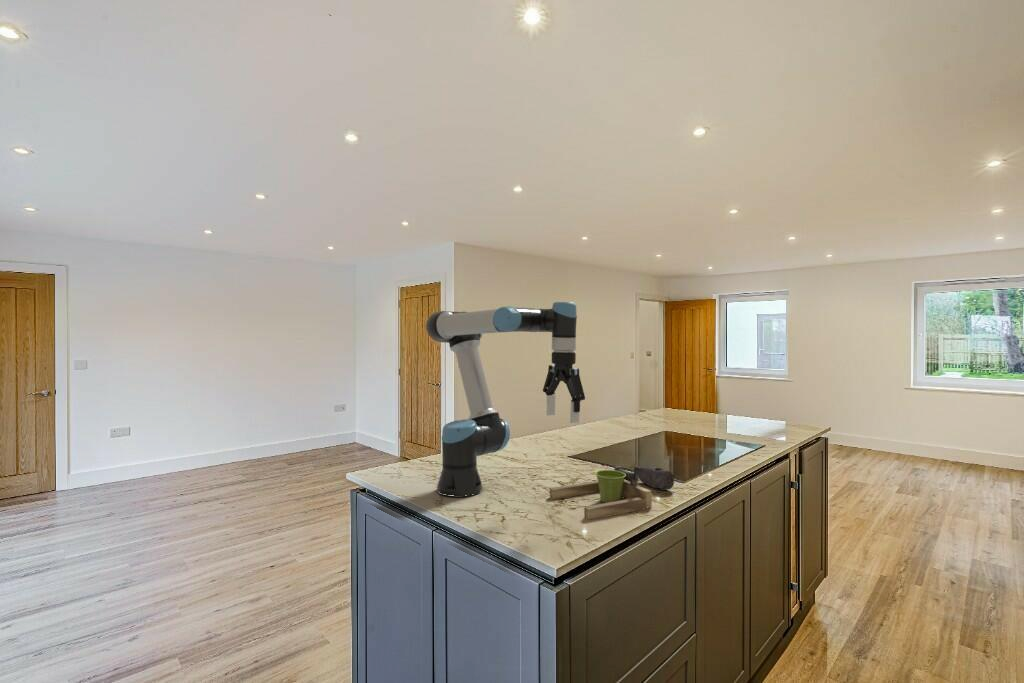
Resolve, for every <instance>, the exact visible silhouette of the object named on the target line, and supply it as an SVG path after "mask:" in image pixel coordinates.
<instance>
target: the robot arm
mask: <svg viewBox="0 0 1024 683" xmlns="http://www.w3.org/2000/svg"><path fill="white" fill-rule="evenodd" d="M577 318H578V314H577V305H576V303H575V302H573V301H570V302H569V301H555V302H553V303H552V308H534V307H533V308H531V307H530V308H529V307H514V306H510V305H508V306H501V307H499V308H494V309H485V310H477V311H476V310H475V311H449V310H448V311H447V310H445V311H444V310H440V311H436V312H433V313H431V315H430V316H429V317H428V318H427V320H426V322H425V330H426V333H427V335H428V336H429V337H430V338H431V339H432V340H433V341H435V342H438V343H445V344H446V343H448V344H449V348H450V351H451V352H454V353H455V357H456V361H457V364H458V365H457V366H458V369H459V373H460V377H461V381H462V385H463V389H464V394H465V398H466V401H467V406H468V411H469V416H468V418H467V419H466V418H465V419H460V420H459V419H458V420H457V419H456V420H453V421H450V422H447V423H446V424H444V426H443V428H442V432H441V433H442V435H441V445H442V446H441V447H442V452H441V454H442V457H441V458H442V468H441V472H440V476H439V478H438V482H437V490H438V491H439V492H440V493H442V494H446V495H454V496H465V495H472V494H476V493H478V494H480V493H481V492H482V491H483V482H482V480H481V476H480V474H479V469H478V467H477V466H478V464H477V463H478V461H477V459H478V458H477V457H479V456H484V455H487V454H492V453H493V454H494V453H496V452H499V451H501V450H504V449H505V448H506V447H507V445H508V443H509V441H510V436H511V430H510V426H509V424H508V422H507V421H505V420H504V419H503V418H501V417H500V414H499V411H498V410H496V409H494V407H493V404H492V399H491V395H490V391H489V387H488V383H487V379H486V376H485V371H484V367H483V364H482V360H481V356H480V352H479V346H480V344H481V339H482V337H483V334H484V335H485V334H493V333H494V334H495V333H496V334H497V333H498V334H499V333H513V332H515V333H516V332H518V333H519V332H523V333H525V332H527V333H528V332H530V333H551V350H552V352H551V363H552V364H548V370H547V371H548V372H547V374H546V376H545V382H544V385H543V388H542V392H543V393H545V395H546V416H555V415H556V393H555V392H556V390H557V388H558V387H559V385H560V383H561V382H562V383H564V384H566V385H565V386H566V388H567V390H568V392H569V394H570V397H571V399H570V413H569V414H570V419H569V420H570V422H569V423H571V424H577V423H580V411H581V402H582V401H584V400H586V396H585V392H584V387H583V384H582V381H581V376H580V369H579V367H578V368H577V367H573V365H574V364H576V361H577V360H576V357H577V354H576V352H575V351H576V350H577V349H576V348H577V347H576V345H577V343H576V342H577V334H576V333H577V322H578V321H577ZM481 490H482V491H481ZM438 491H437V492H438ZM480 491H481V492H480ZM479 492H480V493H479ZM476 495H477V494H476ZM472 496H473V495H472Z"/></svg>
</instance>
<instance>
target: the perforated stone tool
mask: <svg viewBox="0 0 1024 683" xmlns="http://www.w3.org/2000/svg"><path fill="white" fill-rule="evenodd" d="M641 468H643V472H640V471H638V480H639V481H640V482H641V483H642V484H644V485H647V486H648V485H649V486H648V487H650V486H651V487H650V488H653V487H654V488H653V489H659V490H661V491H666V490H667V489H669V490H671V489H672V488H673V487H674V484H675V479H674V473H672V471H669V470H667V469H664V468H659V467H655V466H643V467H641ZM665 489H666V490H665Z"/></svg>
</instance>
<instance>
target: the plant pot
mask: <svg viewBox="0 0 1024 683" xmlns="http://www.w3.org/2000/svg"><path fill="white" fill-rule="evenodd" d="M595 476H596V479H597V481H598V483H599V490H600V491H599V496H600V497H599V499H600V500H601V502H602V503H610V502H615V501H621V499H622V497H621V493H622V486H623V481H624V480H625V479H624V478H625V477H626V474H625V473H623V472H620V471H615V469H614V470H613V469H602V470H597V471H595Z"/></svg>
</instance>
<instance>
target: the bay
mask: <svg viewBox="0 0 1024 683" xmlns="http://www.w3.org/2000/svg"><path fill="white" fill-rule="evenodd" d="M633 468H634V469H633V471H632V472H631V471H629V470H625V469H623V468H622V466H621V465H617V466H614V470H615V471H620V472H623V473H625V474H626V477H625V478H624V481H623V486H622V493H621V498H623V497H624V498H623V499H622V500H620V501H615V502H610V503H605V502H603V503H600V504H594V505H590V506H584V518H585V519H586V518H587V519H586V520H588V519H590V520H595V519H599V518H605V517H610V516H609V515H611V516H615V514H616V515H620V513H621V514H624V512H626V513H630V512H629V511H631V512H634V511H633V510H636V511H639V510H638V509H641V510H644V509H643V508H646V509H648V508H647V507H651V508H653V507H652V506H653V504H652V499H653V498H652V497H653V496H652V492H653V491H652V490H650V489H648V488H645V487H642V486H641V485H639V484H638V481H639V477H638V472H639V471H640V472H643V468H642V467H641V466H637V465H636V466H635V465H634V467H633ZM597 491H599V492H600V490H599V483H598V480H592V481H587V482H581V483H575V484H569V485H562V486H556V487H555V486H554V487H550V488H549V498H551V499H552V500H557V499H562V498H569V497H574V496H575V497H576V496H580V495H581V496H582V495H587V494H592V492H593V493H598V492H597ZM625 498H626V499H625ZM604 516H605V517H604ZM594 518H595V519H594Z"/></svg>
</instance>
